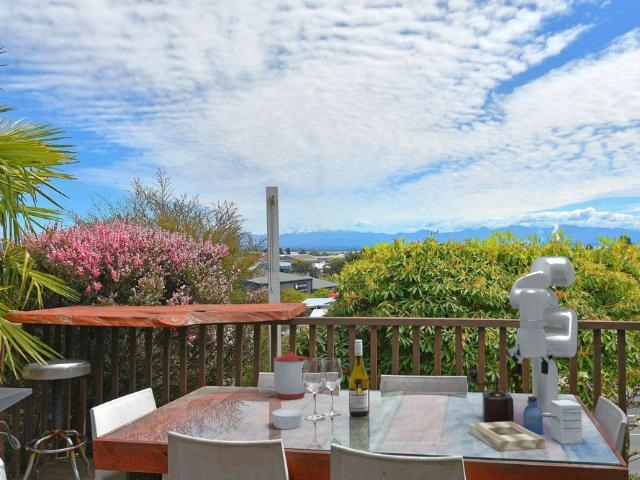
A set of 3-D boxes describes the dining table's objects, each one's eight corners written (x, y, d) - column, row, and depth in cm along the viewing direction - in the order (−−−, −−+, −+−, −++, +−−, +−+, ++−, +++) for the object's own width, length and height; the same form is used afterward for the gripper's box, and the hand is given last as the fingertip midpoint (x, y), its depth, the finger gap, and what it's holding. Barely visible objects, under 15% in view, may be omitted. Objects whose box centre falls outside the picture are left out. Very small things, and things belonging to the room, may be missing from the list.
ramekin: (279, 432, 215) (279, 417, 215) (266, 424, 225) (266, 410, 225) (307, 428, 220) (307, 413, 221) (294, 421, 230) (294, 406, 231)
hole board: (511, 429, 216) (511, 421, 217) (545, 448, 195) (545, 438, 195) (469, 432, 213) (468, 423, 214) (498, 451, 192) (498, 441, 192)
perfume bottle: (542, 430, 215) (541, 396, 216) (542, 435, 210) (542, 399, 210) (523, 429, 218) (523, 394, 218) (523, 433, 212) (523, 398, 212)
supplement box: (550, 438, 206) (549, 400, 207) (571, 437, 207) (570, 399, 207) (561, 444, 199) (560, 405, 199) (582, 443, 200) (582, 404, 200)
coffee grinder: (509, 417, 234) (509, 369, 235) (514, 424, 223) (513, 374, 224) (468, 415, 237) (467, 368, 237) (470, 423, 226) (470, 373, 226)
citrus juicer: (312, 400, 264) (311, 353, 264) (271, 400, 264) (271, 354, 265) (313, 393, 279) (312, 348, 280) (274, 393, 280) (274, 348, 280)
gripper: (547, 323, 220) (548, 371, 219) (503, 324, 217) (503, 373, 216) (559, 325, 213) (560, 375, 212) (513, 326, 210) (514, 376, 209)
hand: (531, 374), depth 214 cm, fingers open, 9 cm apart
